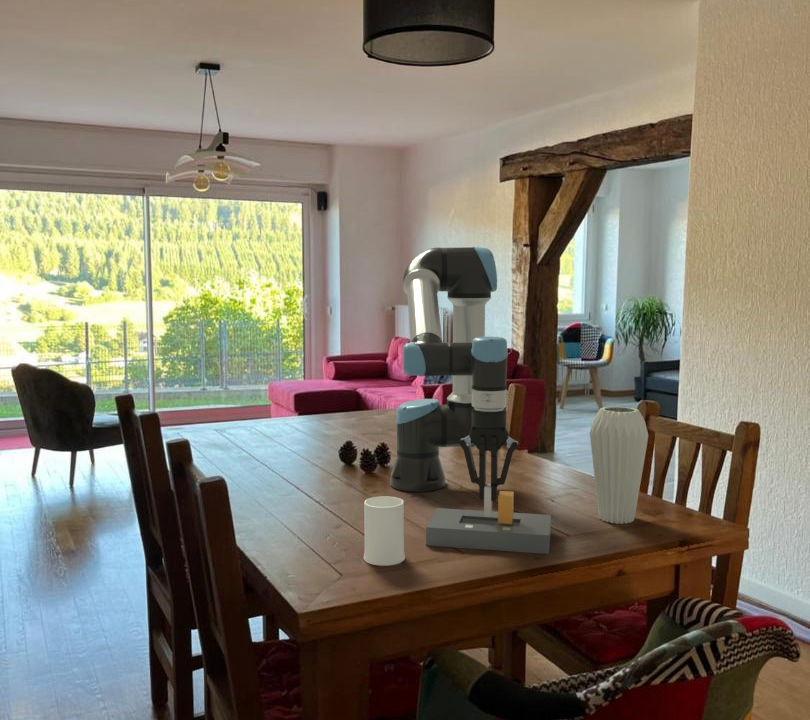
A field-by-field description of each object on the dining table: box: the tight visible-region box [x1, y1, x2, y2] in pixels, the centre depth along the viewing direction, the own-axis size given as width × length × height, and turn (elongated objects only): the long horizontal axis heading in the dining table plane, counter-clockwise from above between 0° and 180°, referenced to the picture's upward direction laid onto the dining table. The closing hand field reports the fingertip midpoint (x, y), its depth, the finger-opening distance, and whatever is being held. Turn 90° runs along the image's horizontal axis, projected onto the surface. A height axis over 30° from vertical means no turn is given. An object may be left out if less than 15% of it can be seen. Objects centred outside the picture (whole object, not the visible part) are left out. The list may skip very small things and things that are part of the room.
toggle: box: [497, 490, 515, 524], centre depth 172 cm, size 3×4×6 cm
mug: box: [363, 495, 406, 567], centre depth 163 cm, size 12×8×12 cm
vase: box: [589, 405, 649, 525], centre depth 186 cm, size 13×13×26 cm
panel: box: [425, 507, 552, 555], centre depth 174 cm, size 26×14×4 cm, turn 78°
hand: (488, 514), depth 173 cm, fingers closed
